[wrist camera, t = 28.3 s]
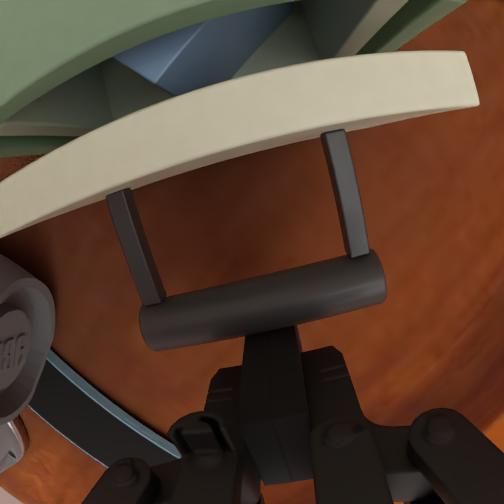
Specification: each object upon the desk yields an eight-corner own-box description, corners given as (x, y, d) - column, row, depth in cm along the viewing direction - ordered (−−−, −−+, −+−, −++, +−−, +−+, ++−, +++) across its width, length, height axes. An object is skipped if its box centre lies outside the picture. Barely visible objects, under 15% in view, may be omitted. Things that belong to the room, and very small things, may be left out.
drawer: (390, 240, 13) (493, 324, 6) (148, 297, 15) (69, 408, 7) (278, -95, 8) (283, -193, 1) (72, -28, 10) (-12, -86, 2)
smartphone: (16, 326, 16) (196, 466, 18) (25, 319, 17) (199, 455, 19) (-1, 377, 17) (146, 491, 20) (6, 370, 19) (150, 482, 21)
